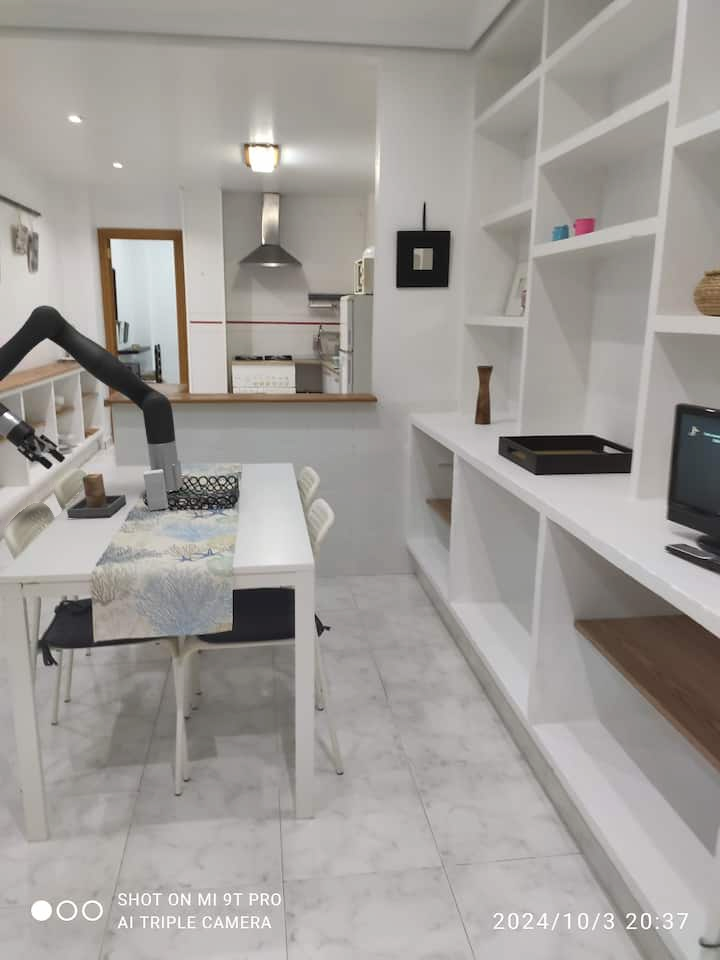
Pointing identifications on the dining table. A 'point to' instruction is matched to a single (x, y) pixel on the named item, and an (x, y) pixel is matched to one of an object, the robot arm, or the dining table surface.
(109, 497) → the tray
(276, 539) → the dining table surface
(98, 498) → the block
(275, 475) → the dining table surface
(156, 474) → the skincare box
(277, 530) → the dining table surface
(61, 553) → the dining table surface
